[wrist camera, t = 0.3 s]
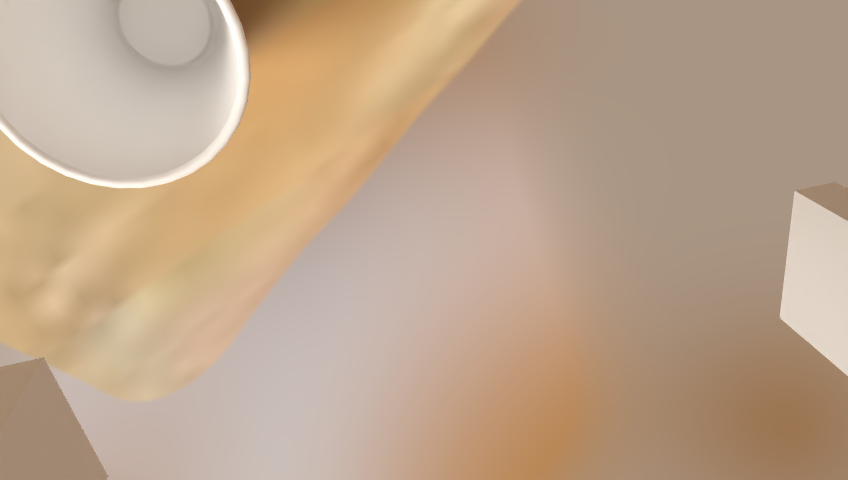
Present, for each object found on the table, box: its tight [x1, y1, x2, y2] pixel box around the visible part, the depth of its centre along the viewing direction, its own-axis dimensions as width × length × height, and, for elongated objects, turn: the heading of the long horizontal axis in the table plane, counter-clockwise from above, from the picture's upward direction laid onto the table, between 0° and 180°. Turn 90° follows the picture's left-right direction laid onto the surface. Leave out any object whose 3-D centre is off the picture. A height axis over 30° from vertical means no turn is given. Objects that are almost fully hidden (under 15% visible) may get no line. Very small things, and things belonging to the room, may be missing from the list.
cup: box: [0, 0, 251, 188], centre depth 29 cm, size 10×10×11 cm
